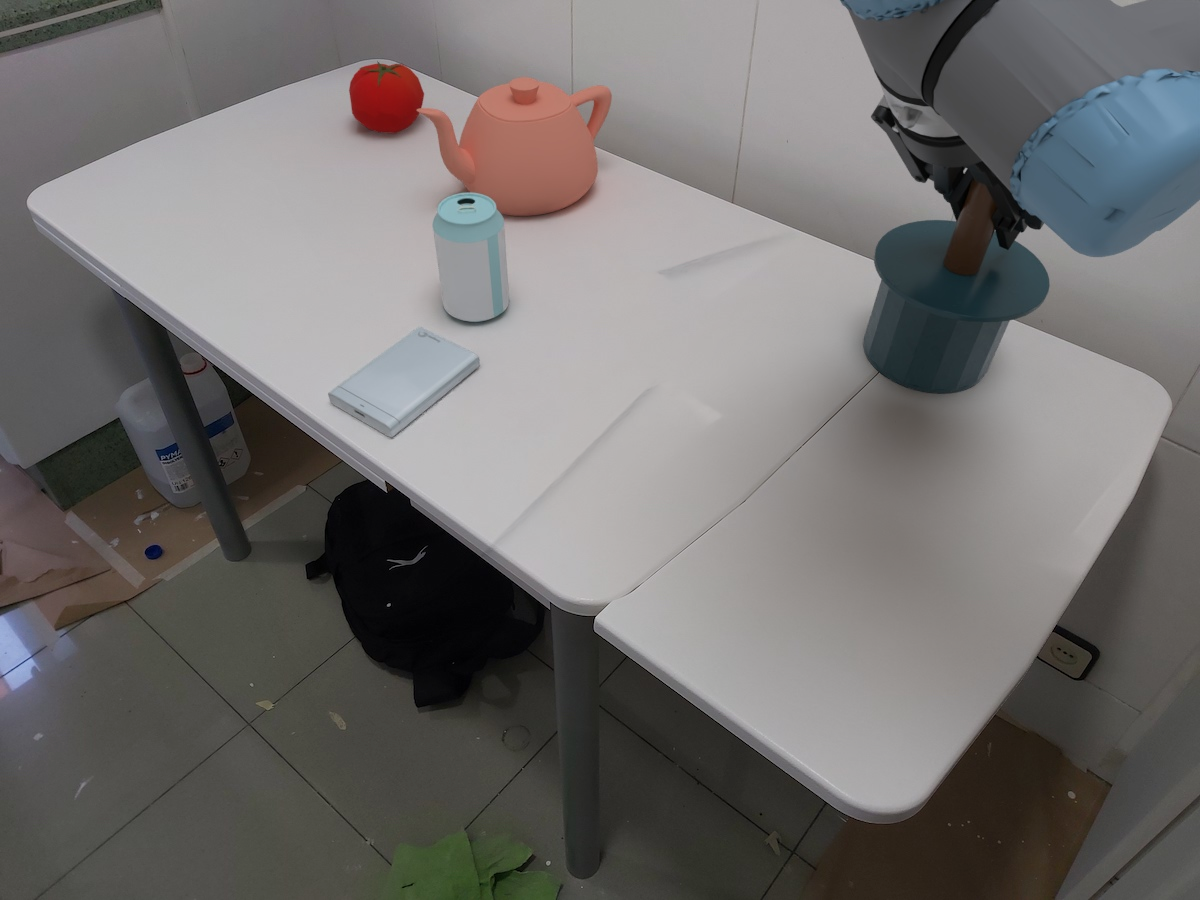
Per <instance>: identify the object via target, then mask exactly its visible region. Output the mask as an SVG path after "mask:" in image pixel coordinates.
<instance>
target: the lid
mask: <svg viewBox="0 0 1200 900" xmlns="http://www.w3.org/2000/svg"><path fill="white" fill-rule="evenodd" d="M996 210H997V206H996V205H995V203H994V201H993V199H992V197H991V195H990V193H989V191H988V189H987V187H986V185H985V184H982V183H979V182H976V181H975V179H974V177H973V179H972V181H971V184H970V187H969V190H968V193H967V195H966V198H965V201H964V204H963V207H962V210H961V212H960V215H959V218H958V221H957V222H956V220H949V219H948V220H947V219H945V220H944V219H926V220H917V221H912V222H911V221H910V222H907V223H904V224H901V225H898V226H896V227H894V228H892V229H890V230H888V231H887V232H886V233H885V234H884V235H883V236H881V238H880V239H879V241H878V242H877V244H876V246H875V249H874V253H873V265H874V268H875V271H876V272H877V274H878V276H879V278H880V280H881V279H882V281H883V282H884V283H885V284H886V285H887V286H888V287H889V288H890V289H891V290H892V291H893V292H894V293H896V294H897V295H898V296H900V297H901V298H903V299H904V300H906V301H907V302H909V303H911V304H913V305H915V306H917V307H919V308H921V309H923V310H926V311H928V312H931V313H934V314H937V315H940V316H944V317H947V318H951V319H956V320H961V321H969V322H982V323H991V322H1003V321H1009V322H1010V321H1013V320H1018V319H1020V318H1023V317H1026V316H1028V315H1030V314H1031V313H1033V312H1035V311H1036V310H1037V309H1038V308H1040V307H1041V306H1042V304H1044V302H1045V300H1046V299H1047V296H1048V294H1049V291H1050V276H1049V273H1048V271H1047V269H1046V267H1045V266H1044V263H1042V261H1041V260H1040V259H1039V258H1038V257H1037V256H1036V254H1034V253H1033V252H1032V251H1031V250H1030V249H1028V248H1027V247H1026V246H1025V245H1023V244H1021V243H1020V242H1018V241H1016V240H1015V241H1014V242H1013V244H1012V245H1011V247H1010V248H1009V250H1007V249H1004V248H1002V247H1000V246H999V243H998V239H997V235H996V231H995V227H994V223H993V219H992V216H993V214H994V213H995V211H996Z"/></svg>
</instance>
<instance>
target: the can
mask: <svg viewBox="0 0 1200 900" xmlns="http://www.w3.org/2000/svg"><path fill="white" fill-rule="evenodd" d="M436 211H437V213H436V214H435V216H434V217H433V219H432V231H433V233H432V234H433V241H434V245H435V246H434V247H435V254H436V261H437V262H436V263H437V268H438V276H439V284H440V290H441V291H440V292H441V297H442V305H443V308H444V310H445V311H446V312H447V314H449V315H450V316H451V317H453V318H455V319H457V320H461V321H464V322H469V323H482V322H485V321H488V320H491V319H494V318H496V317H498V316H499V315H501V314H502V313H503V312H505V311H506V309H507V308H508V306H509V304H510V288H509V287H510V286H509V276H508V275H509V274H508V260H507V246H506V245H507V244H506V233H505V231H506V230H505V219H504V217H503V214H501V213H500V212H499V211H498V210H497V209H496V204H495V202H494V201H493V200H492V199H491V198H489V197H488V196H485V195H483V194H479V193H471V192H460V193H459V192H458V193H455V194H452V195H449V196H447V197H444V198H443V199H442V200H441V201H440V202H439V203H438V205H437V208H436Z"/></svg>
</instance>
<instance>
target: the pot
mask: <svg viewBox="0 0 1200 900" xmlns="http://www.w3.org/2000/svg"><path fill="white" fill-rule="evenodd" d="M1009 324H1010V321H1003V322H991V323H982V322H969V321H961V320H956V319H951V318H947V317H944V316H940V315H937V314H934V313H931V312H928V311H926V310H923V309H921V308H919V307H917V306H915V305H913V304H911V303H909V302H907V301H906V300H904V299H903V298H901V297H900V296H898V295H897V294H896V293H894V292H893V291H892V290H891V289H890V288H889V287H888V286H887V285H886V284H885V283H884V282H883V281H882V279H881V278H880V283H879V286H878V290H877V293H876V296H875V300H874V303H873V306H872V310H871V313H870V317H869V320H868V323H867V327H866V329H865V332H864V337H863V339H862V341H863V344H862V346H863V351H864V354H865V356H866V358H867V360H868V361H869V363H870V364H871V365H872V366H873V367H874V368H875V370H877V372H879V373H880V374H881V375H883V376H884V377H886V378H887V379H889V380H890V381H892V382H893V383H896V384H899V385H900V386H903V387H906V388H908V389H912V390H915V391H920V392H924V393H931V394H951V393H952V394H953V393H958V392H961V391H965V390H968V389H970V388H972V387H973V386H976V385H977V384H978V383H980V382H981V381H982V379H983V378H984V377H985V375H986V374H987V372H988V371H989V369H990V367H991V364H992V362H993V359H994V357H995V355H996V353H997V351H998V349H999V346H1000V343H1001V341H1002V339H1003V337H1004V334H1005V333H1006V330H1007V328H1008V326H1009Z"/></svg>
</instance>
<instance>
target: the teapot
mask: <svg viewBox="0 0 1200 900" xmlns="http://www.w3.org/2000/svg"><path fill="white" fill-rule="evenodd" d="M612 95H613V94H612V91H611V89H610V88H609V87H608V86H605V85H597V84H596V85H592V86H589V87H586V88H583V89H581V90H579V91H577V92H575V93H573V94H570V95H568V94H567V92H565V91H564V90H563V89H561V88H560V87H559V86H556V85H555V84H553V83H549V82H547V81H546V82H545V81H539V80H538V79H536V78H533V77H528V76H520V77H516V78H513V79H511V80H510V81H509V82H508V83H507V82H506V83H504V84H500V85H496V86H494V87H491V88H488V89H487V90H485V91H484V92H483V93H481V94H480V95H479V96H478V98H477V100H476V101H475V103H474V104H473V106H472V108H471V110H470V112H469V115H468V117H467V119H466V121H465V123H464V126H463V128H462V131H461V133H460V134H461V135H460V137H459V138H460V139H459V141H457V138H456V137H457V136H456V133H455V130H454V126H453V123H452V120H451V119H450V117H449V116H448V115H447V113H445V112H444V111H443V110H440V109H437V108H429V107H421V108H420V109H417V111H418V112H419V114H420V115H423V116H425V117H426V118H428V119H429V120H430V122H432V124H433V125H434V128H435V130H436V134H437V140H438V147H439V154H440V156H441V159H442V162H443V164H444V166H445V167H446V169H447V170H448V172H449V173H450V174H451V175H452V176H453V177H454V178H456V179H457V180H458V181H461V182H462V184H463V185H464V186H465V188H466V189H467V191H469V193H479V194H483V195H485V196H488V197H489V198H491V199H492V200H493V201H494V202H495V204H496V209H497V210H498V211H499V212H500V213H501V215H505V216H506V215H507V216H515V217H526V216H527V217H528V216H540V215H545V214H550V213H554V212H557V211H560V210H563V209H565V208H567V207H570V206H572V205H573V204H575V203H576V202H578V201H579V200H580V199H582V198H583V196H585V195H586V193H588V191H589V190H590V189H591V188H592V186H593V185H594V183H595V181H596V179H597V177H598V171H599V170H598V169H599V168H598V167H599V166H598V157H597V151H596V147H595V142H594V141H595V139H596V137H597V135H598V134H599V132H600V131H601V128H602V126H603V125H604V123H605V120H607V119H606V118H607V116H608V114H609V111H610V109H611V106H612V100H613V99H612ZM592 101H593V105H592V110H591V114H590V117H589V119H588V122H587V123H586V121H585V119H584V118H583V116H582V114H581V113H580V110H579V109H578V107H579V106H581V105H584V104H586V103H588V102H592ZM458 142H459V143H458Z"/></svg>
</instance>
